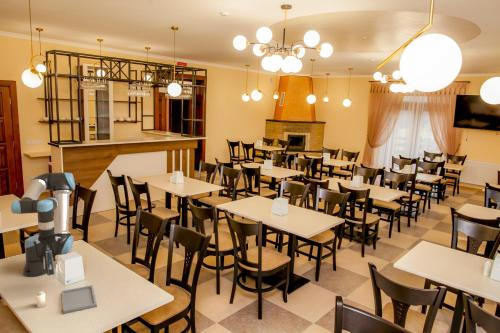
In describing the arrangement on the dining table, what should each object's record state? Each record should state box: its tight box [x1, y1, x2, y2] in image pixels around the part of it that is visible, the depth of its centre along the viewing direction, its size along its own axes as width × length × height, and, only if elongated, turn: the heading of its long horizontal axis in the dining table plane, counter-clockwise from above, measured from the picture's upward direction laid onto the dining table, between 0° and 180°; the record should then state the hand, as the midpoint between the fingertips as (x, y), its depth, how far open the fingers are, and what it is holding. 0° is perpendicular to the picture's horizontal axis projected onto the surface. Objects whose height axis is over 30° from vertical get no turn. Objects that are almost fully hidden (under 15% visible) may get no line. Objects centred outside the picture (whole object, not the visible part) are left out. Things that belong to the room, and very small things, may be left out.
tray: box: [61, 284, 98, 315], centre depth 194 cm, size 22×16×2 cm
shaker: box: [35, 290, 46, 309], centre depth 186 cm, size 4×4×9 cm
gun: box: [44, 244, 55, 276], centre depth 197 cm, size 3×17×15 cm
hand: (48, 267), depth 197 cm, fingers closed on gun, 3 cm apart
